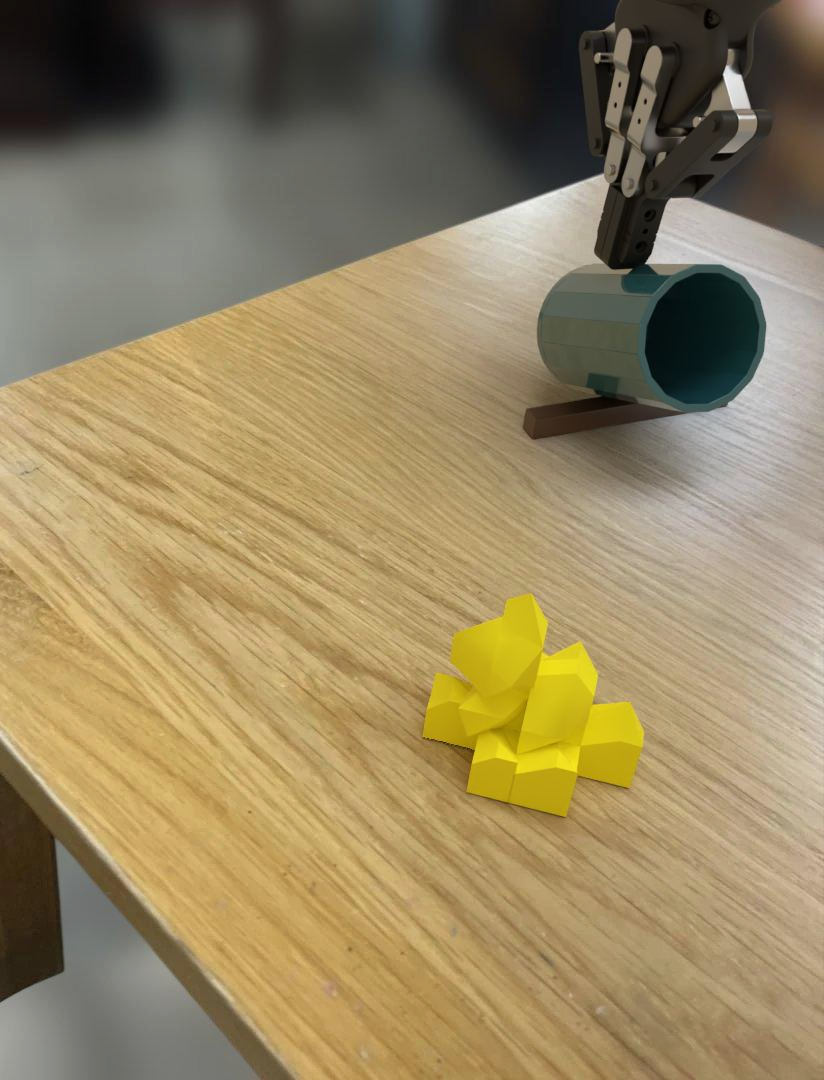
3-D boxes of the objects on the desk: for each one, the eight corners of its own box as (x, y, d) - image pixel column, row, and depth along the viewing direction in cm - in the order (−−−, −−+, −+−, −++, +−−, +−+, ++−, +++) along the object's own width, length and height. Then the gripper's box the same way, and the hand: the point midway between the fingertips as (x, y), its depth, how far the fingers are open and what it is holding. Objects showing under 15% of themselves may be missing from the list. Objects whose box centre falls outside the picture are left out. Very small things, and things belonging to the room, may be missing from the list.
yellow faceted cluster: (624, 831, 45) (673, 683, 40) (410, 778, 46) (432, 629, 42) (637, 718, 49) (682, 571, 44) (441, 672, 51) (463, 526, 46)
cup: (629, 244, 66) (746, 241, 56) (662, 361, 68) (780, 377, 58) (520, 292, 65) (621, 298, 55) (557, 410, 67) (660, 435, 57)
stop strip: (715, 394, 68) (721, 376, 68) (728, 406, 67) (733, 387, 67) (522, 427, 65) (525, 408, 64) (532, 439, 64) (535, 420, 64)
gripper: (910, -93, 46) (760, 321, 57) (714, -157, 56) (617, 206, 66) (742, -100, 44) (618, 331, 54) (569, -166, 54) (492, 211, 64)
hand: (618, 262), depth 60 cm, fingers closed
